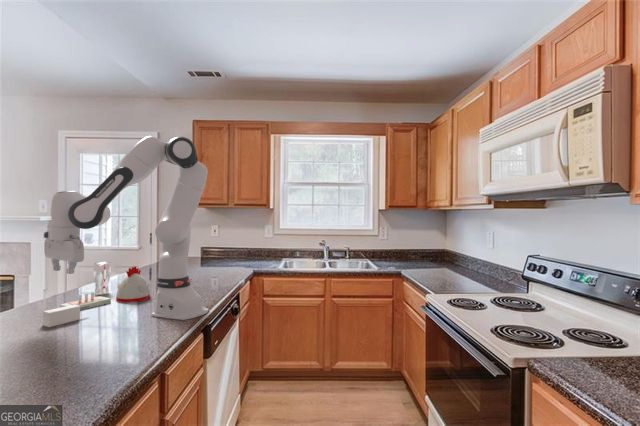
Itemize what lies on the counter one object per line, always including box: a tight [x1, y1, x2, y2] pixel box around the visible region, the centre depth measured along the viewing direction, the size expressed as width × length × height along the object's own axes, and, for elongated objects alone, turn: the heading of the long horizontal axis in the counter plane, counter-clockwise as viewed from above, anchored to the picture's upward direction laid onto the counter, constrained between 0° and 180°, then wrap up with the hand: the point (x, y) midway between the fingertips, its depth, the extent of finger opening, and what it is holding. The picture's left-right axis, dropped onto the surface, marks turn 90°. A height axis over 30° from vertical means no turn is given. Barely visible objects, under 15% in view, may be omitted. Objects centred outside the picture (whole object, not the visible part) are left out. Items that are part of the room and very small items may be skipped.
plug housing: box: [42, 305, 90, 328], centre depth 125 cm, size 4×14×5 cm, turn 154°
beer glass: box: [93, 261, 112, 296], centre depth 165 cm, size 7×7×15 cm
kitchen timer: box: [115, 266, 151, 303], centre depth 158 cm, size 14×14×15 cm
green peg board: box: [59, 291, 112, 311], centre depth 144 cm, size 8×16×5 cm, turn 154°
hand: (63, 272), depth 124 cm, fingers open, 8 cm apart
